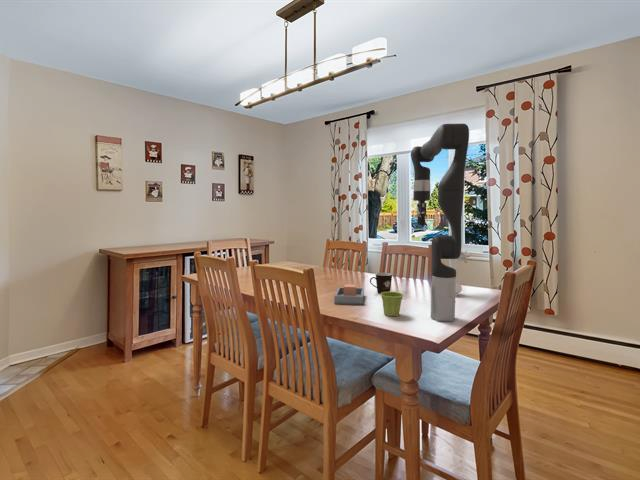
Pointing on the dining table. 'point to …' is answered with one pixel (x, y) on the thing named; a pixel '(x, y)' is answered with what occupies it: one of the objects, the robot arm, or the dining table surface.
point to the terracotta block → (349, 290)
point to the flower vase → (453, 265)
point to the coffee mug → (383, 282)
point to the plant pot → (391, 303)
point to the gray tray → (349, 297)
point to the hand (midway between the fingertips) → (421, 225)
